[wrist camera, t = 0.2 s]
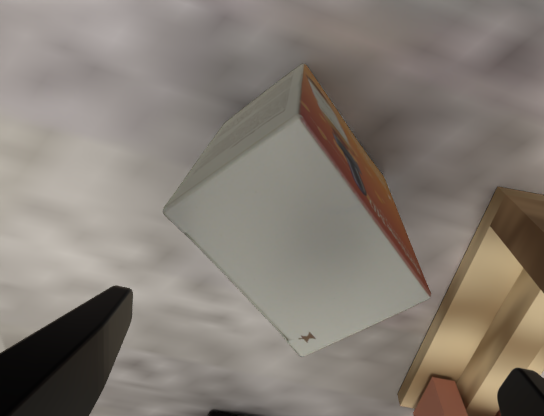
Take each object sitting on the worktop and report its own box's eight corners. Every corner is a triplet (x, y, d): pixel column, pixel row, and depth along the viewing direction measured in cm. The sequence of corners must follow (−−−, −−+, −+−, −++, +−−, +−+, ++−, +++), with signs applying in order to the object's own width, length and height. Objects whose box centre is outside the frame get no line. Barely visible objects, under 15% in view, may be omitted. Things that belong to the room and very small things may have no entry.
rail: (498, 412, 31) (546, 516, 25) (397, 394, 31) (420, 493, 25) (637, 212, 22) (763, 294, 16) (497, 186, 22) (570, 258, 16)
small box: (385, 177, 23) (439, 303, 13) (304, 226, 25) (302, 364, 15) (304, 57, 20) (301, 109, 11) (220, 122, 22) (156, 213, 13)
